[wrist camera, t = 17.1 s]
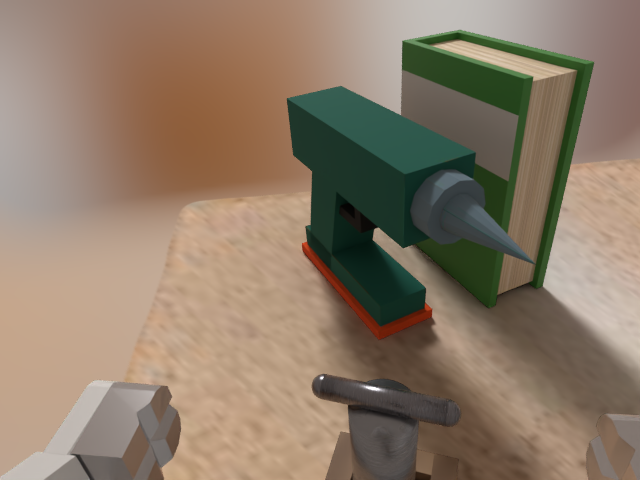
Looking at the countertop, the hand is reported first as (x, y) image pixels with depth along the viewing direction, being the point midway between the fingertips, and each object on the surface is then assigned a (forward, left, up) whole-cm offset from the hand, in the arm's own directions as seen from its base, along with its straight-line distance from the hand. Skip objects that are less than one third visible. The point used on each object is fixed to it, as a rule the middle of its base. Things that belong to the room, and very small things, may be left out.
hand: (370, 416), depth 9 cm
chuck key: (+2, -12, -27) cm, 30 cm away
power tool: (+5, -33, -28) cm, 44 cm away
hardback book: (-1, -45, -28) cm, 53 cm away
